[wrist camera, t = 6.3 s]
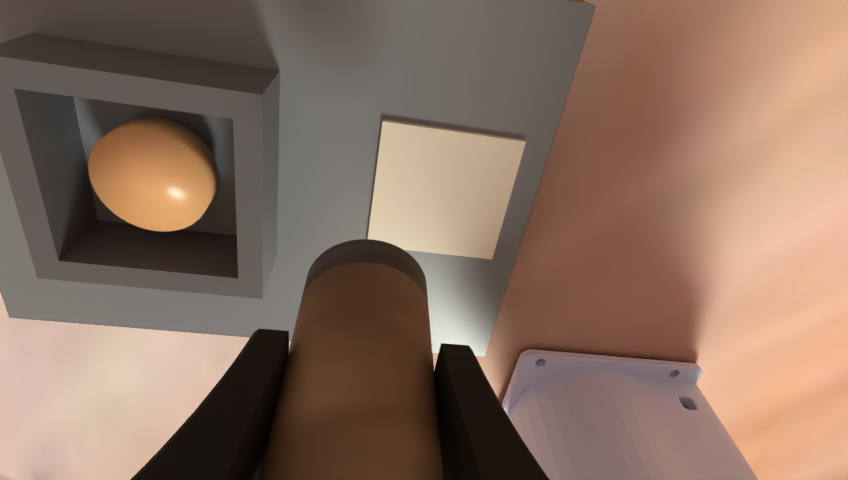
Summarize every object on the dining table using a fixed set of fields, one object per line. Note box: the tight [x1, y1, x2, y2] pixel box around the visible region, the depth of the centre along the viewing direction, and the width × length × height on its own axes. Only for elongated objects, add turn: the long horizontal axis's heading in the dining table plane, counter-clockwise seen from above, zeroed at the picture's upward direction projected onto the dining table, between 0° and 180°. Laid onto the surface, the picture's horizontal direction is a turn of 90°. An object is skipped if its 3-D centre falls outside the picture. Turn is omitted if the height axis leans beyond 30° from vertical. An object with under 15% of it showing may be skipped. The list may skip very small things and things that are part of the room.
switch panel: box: [0, 0, 596, 357], centre depth 17 cm, size 20×15×4 cm
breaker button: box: [88, 117, 219, 232], centre depth 16 cm, size 4×4×1 cm
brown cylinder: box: [258, 239, 443, 480], centre depth 10 cm, size 3×3×9 cm
